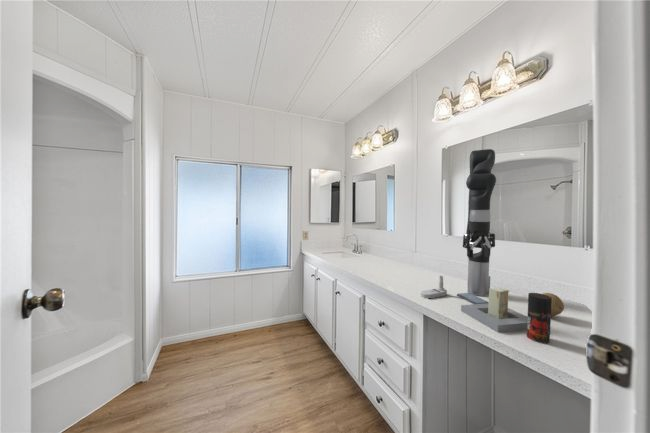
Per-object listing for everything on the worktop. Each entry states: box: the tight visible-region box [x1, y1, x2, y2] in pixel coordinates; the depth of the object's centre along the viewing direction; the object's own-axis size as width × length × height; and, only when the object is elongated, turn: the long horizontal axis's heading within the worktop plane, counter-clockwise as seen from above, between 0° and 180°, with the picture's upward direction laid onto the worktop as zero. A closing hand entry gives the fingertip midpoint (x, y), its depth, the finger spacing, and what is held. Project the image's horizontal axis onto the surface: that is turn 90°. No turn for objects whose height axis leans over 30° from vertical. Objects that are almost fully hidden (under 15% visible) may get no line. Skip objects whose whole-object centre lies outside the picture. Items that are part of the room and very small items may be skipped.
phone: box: [456, 292, 489, 304], centre depth 117 cm, size 7×13×1 cm, turn 10°
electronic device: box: [420, 275, 448, 299], centre depth 123 cm, size 5×10×15 cm
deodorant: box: [526, 292, 552, 345], centre depth 82 cm, size 6×6×15 cm
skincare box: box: [487, 286, 510, 319], centre depth 97 cm, size 6×4×12 cm
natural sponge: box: [542, 292, 565, 318], centre depth 99 cm, size 9×9×10 cm
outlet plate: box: [460, 303, 528, 333], centre depth 97 cm, size 18×18×2 cm
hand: (478, 257), depth 104 cm, fingers open, 8 cm apart
